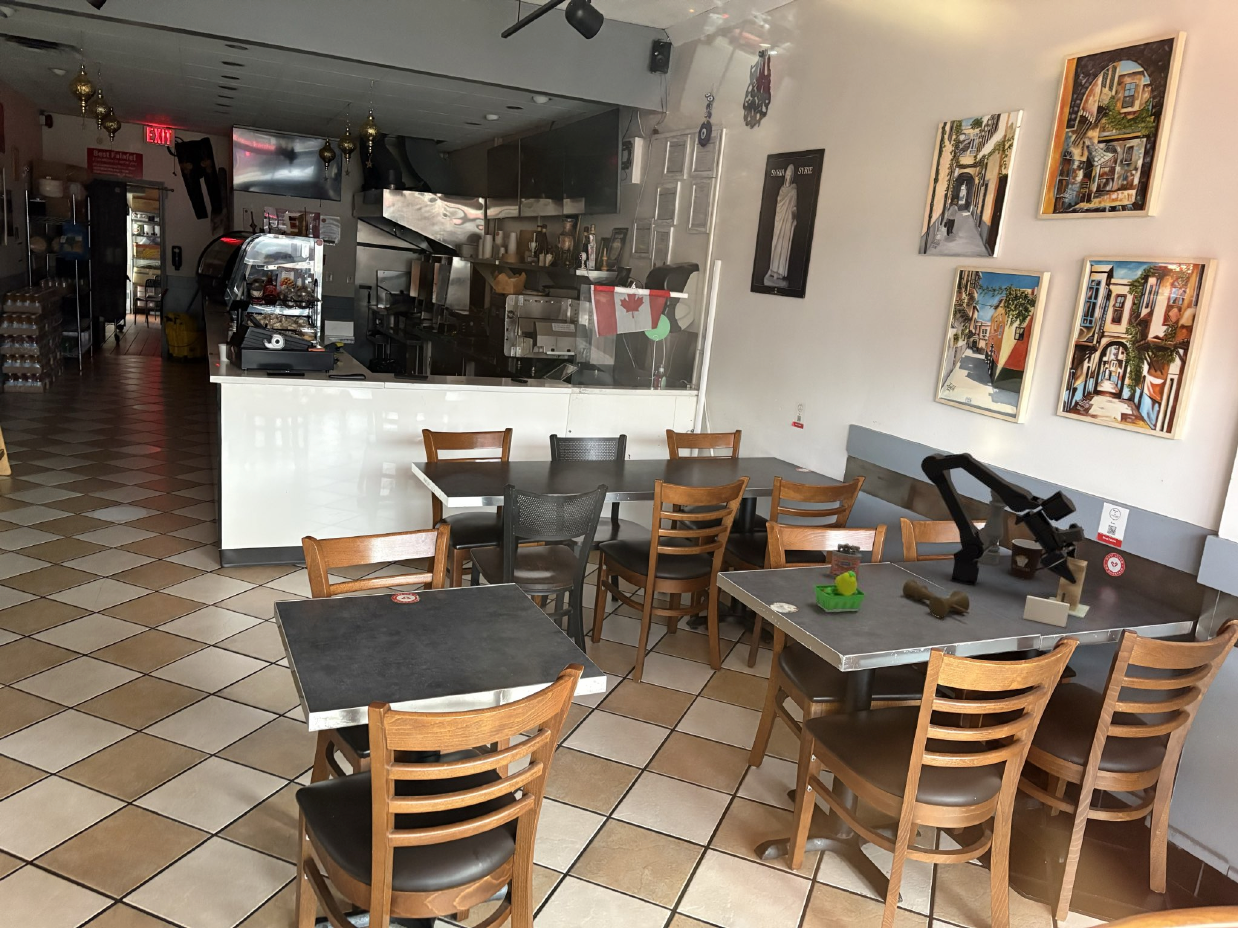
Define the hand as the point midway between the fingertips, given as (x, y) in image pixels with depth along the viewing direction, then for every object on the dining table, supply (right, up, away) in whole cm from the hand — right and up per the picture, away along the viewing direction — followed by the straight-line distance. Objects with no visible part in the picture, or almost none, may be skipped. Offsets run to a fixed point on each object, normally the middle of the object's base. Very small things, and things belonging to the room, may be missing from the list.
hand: (1078, 578), depth 242 cm
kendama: (-41, -8, -6) cm, 42 cm away
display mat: (-2, -8, +3) cm, 9 cm away
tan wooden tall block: (-2, -8, +3) cm, 8 cm away
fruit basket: (-68, -6, -12) cm, 69 cm away
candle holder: (-9, 0, +38) cm, 39 cm away
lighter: (-60, -1, +12) cm, 62 cm away
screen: (-14, -10, -9) cm, 19 cm away
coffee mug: (-3, -3, +25) cm, 26 cm away
